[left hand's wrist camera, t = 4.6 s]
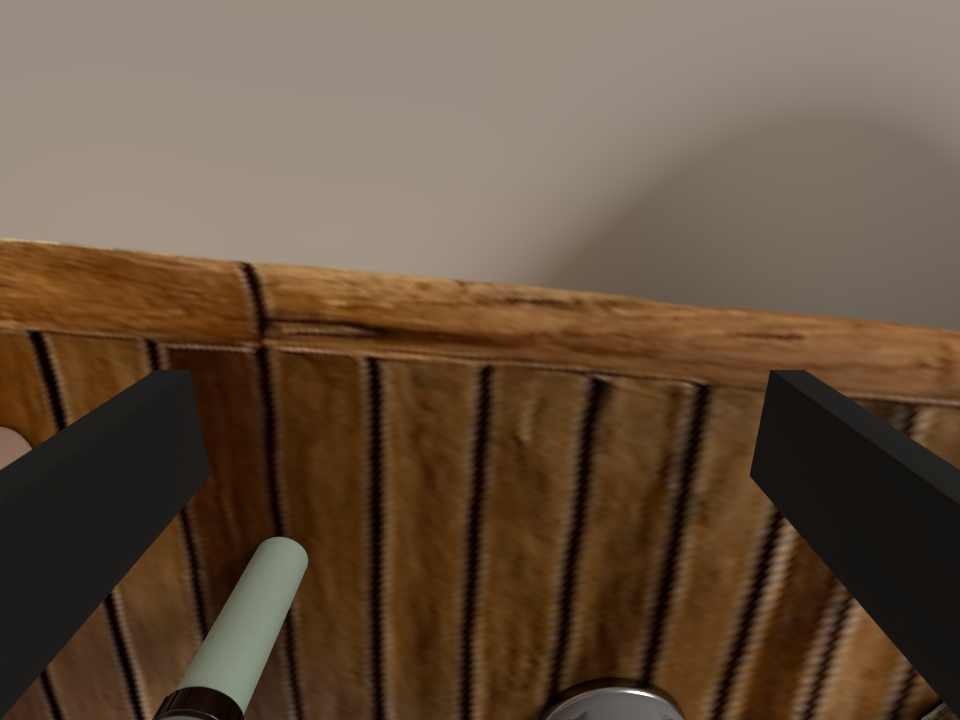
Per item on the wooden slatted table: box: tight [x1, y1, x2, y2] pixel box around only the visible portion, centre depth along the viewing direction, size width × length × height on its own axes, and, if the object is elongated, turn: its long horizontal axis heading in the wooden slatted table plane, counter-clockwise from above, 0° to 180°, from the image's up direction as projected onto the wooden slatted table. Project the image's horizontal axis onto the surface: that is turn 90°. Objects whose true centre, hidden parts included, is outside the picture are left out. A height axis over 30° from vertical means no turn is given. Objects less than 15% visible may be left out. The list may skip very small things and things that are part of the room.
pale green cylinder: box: [176, 537, 308, 715], centre depth 41 cm, size 5×5×16 cm
